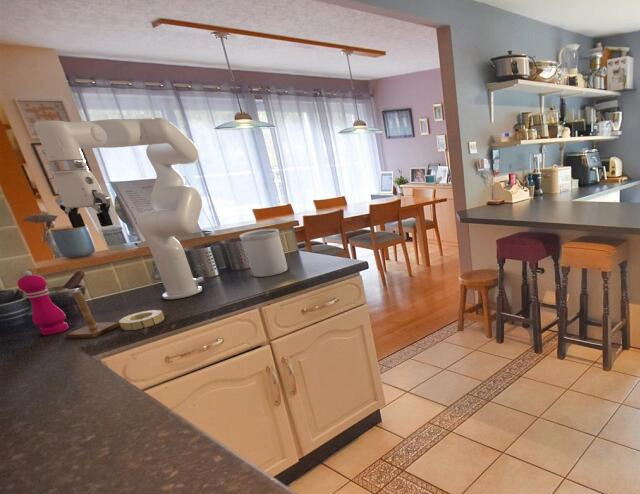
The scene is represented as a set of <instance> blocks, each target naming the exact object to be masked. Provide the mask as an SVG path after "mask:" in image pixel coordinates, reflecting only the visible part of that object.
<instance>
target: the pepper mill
mask: <svg viewBox="0 0 640 494" xmlns="http://www.w3.org/2000/svg"><path fill="white" fill-rule="evenodd" d="M22 275H23V277H20V278H19V279H18V281H17V287H18V289H19V290H21V291H23V292H24V295H25V298H28V299H29V301H30V303H31V305H32V313H31V320H32V322H33V324H34V325H35V326H36V327H40V328H39V331H40V333H41V335H42V336H49V335H55V334H58V333H59V334H60V333H62V332H65V331H67V330H69V328H70V327H69V325H68V323H67V322H66V321H65V320H66V318H67V316H66V314H65V312H64V311H63V310H62V309H61V308H59V307H58V306H57V305H56V304H55V303H54V302H53V301H52V299H51V298H50V296H49V294H50V291H49V290H48V288H46V287H47V286H48V284H47V283H48V282H47V280H46V278H44V277H43V276H41V275H37V274H33V273H32V271H30V270H24V271H23V272H22Z"/></svg>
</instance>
